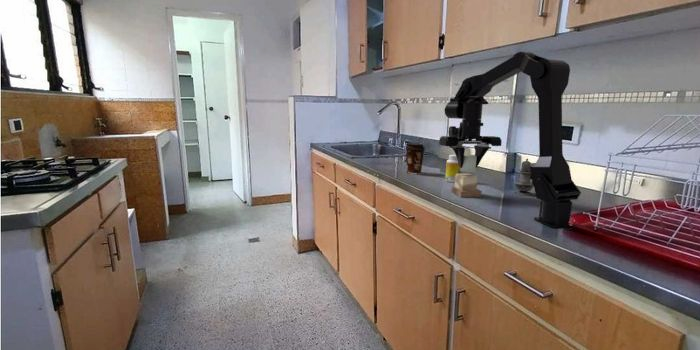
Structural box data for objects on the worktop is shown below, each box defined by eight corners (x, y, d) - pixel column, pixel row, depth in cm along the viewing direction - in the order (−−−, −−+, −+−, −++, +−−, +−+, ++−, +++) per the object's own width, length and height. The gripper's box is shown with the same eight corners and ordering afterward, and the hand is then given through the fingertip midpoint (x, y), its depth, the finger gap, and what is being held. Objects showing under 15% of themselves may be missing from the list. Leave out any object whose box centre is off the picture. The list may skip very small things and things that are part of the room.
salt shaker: (535, 196, 110) (539, 160, 107) (516, 195, 111) (520, 159, 108) (529, 192, 115) (533, 157, 113) (511, 191, 116) (515, 156, 114)
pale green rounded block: (478, 171, 108) (479, 156, 107) (464, 172, 107) (465, 156, 106) (471, 169, 112) (472, 154, 111) (457, 169, 112) (458, 154, 111)
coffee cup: (400, 171, 151) (401, 143, 148) (415, 170, 154) (416, 142, 152) (411, 175, 143) (412, 144, 140) (427, 174, 146) (428, 144, 144)
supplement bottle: (459, 182, 129) (461, 156, 127) (444, 181, 131) (446, 155, 129) (460, 180, 134) (462, 154, 132) (446, 179, 136) (448, 154, 134)
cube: (476, 190, 109) (477, 176, 108) (462, 190, 108) (463, 176, 107) (468, 186, 114) (469, 173, 113) (454, 187, 113) (455, 174, 112)
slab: (480, 198, 109) (481, 190, 108) (460, 199, 108) (461, 191, 107) (470, 193, 115) (470, 186, 115) (451, 193, 114) (451, 186, 114)
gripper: (485, 118, 116) (482, 163, 119) (434, 118, 113) (431, 164, 116) (504, 119, 105) (500, 168, 108) (448, 119, 102) (444, 169, 105)
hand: (468, 167), depth 110 cm, fingers closed on pale green rounded block, 5 cm apart
